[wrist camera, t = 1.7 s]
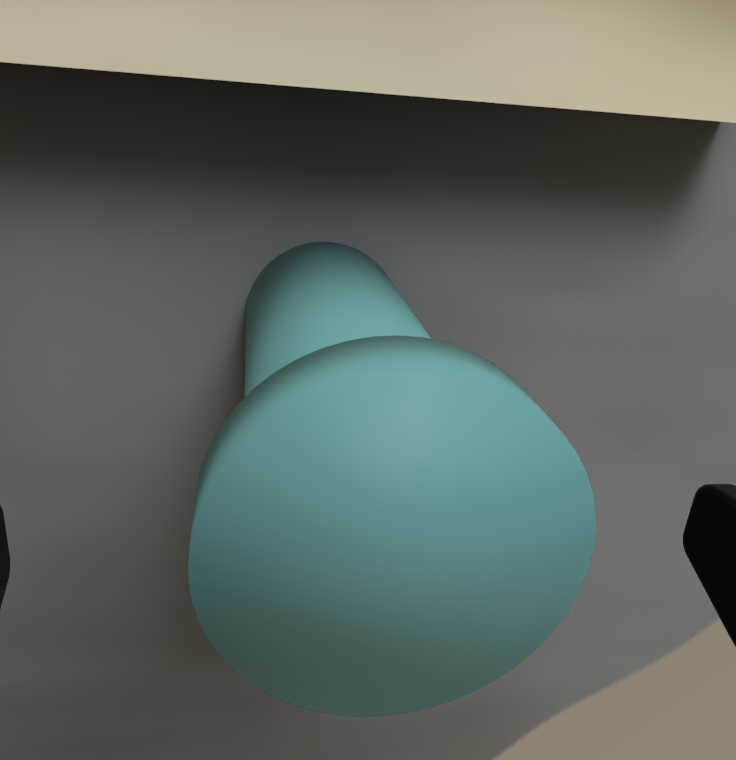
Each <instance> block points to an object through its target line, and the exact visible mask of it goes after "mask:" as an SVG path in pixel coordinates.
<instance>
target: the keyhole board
mask: <svg viewBox="0 0 736 760" xmlns="http://www.w3.org/2000/svg"><path fill="white" fill-rule="evenodd" d="M0 62H6V63H18V64H30V65H42V66H54V67H66V68H78V69H91V70H103V71H115V72H127V73H139V74H151V75H163V76H175V77H187V78H199V79H212V80H224V81H236V82H248V83H260V84H272V85H284V86H296V87H308V88H320V89H333V90H345V91H357V92H369V93H381V94H393V95H405V96H417V97H429V98H441V99H453V100H466V101H478V102H490V103H502V104H514V105H526V106H538V107H550V108H562V109H574V110H587V111H599V112H611V113H623V114H635V115H647V116H659V117H671V118H683V119H695V120H708V121H720V122H732V123H736V0H0Z"/></svg>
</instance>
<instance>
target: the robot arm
mask: <svg viewBox="0 0 736 760" xmlns="http://www.w3.org/2000/svg"><path fill="white" fill-rule="evenodd" d="M683 546H684V550H685V552H686V555H687V557H688V558H689V560H690V562H691V564H692V566H693V568H694V570H695V572H696V574H697V575H698V577H699V579H700V581H701V583H702V585H703V587H704V589H705V591H706V593H707V594H708V596H709V598H710V600H711V602H712V604H713V606H714V608H715V610H716V611H717V613H718V615H719V617H720V619H721V621H722V623H723V625H724V626H725V628H726V630H727V632H728V634H729V636H730V637H731V639H732V641H733V643H734V645H735V646H736V486H735V485H731V484H708V485H703V486H702V487H700V488H699V489H698V490H697V492H696V494H695V496H694V499H693V503H692V506H691V509H690V513H689V516H688V519H687V523H686V526H685V529H684V533H683ZM9 573H10V555H9V548H8V541H7V534H6V528H5V521H4V514H3V510H2V507H1V505H0V608H1V605H2V601H3V597H4V594H5V590H6V587H7V583H8V579H9Z"/></svg>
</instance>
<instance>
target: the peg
mask: <svg viewBox="0 0 736 760" xmlns="http://www.w3.org/2000/svg"><path fill="white" fill-rule="evenodd" d="M595 521H596V514H595V506H594V499H593V492H592V489H591V486H590V483H589V479H588V476H587V473H586V471H585V469H584V467H583V465H582V462H581V460H580V458H579V456H578V454H577V452H576V451H575V450H574V448H573V447H572V446H571V444H570V443H569V441H568V440H567V439H566V437H565V436H564V434H563V433H562V432H561V431H560V430H559V429H558V428H557V426H556V425H555V424H554V423H553V422H552V421H551V420H550V419H549V417H548V416H547V415H546V414H545V413H544V412H543V411H542V410H541V408H540V407H539V406H538V405H537V404H536V403H535V402H534V400H533V399H532V398H531V397H530V396H529V395H528V394H527V393H526V391H525V390H524V389H523V388H522V387H521V386H520V385H519V384H518V383H517V382H516V381H515V380H514V379H513V378H512V377H511V376H510V375H509V374H507V373H506V372H504V371H503V370H502V369H500V368H499V367H498V366H496V365H495V364H494V363H492V362H491V361H489V360H487V359H485V358H483V357H481V356H480V355H478V354H476V353H474V352H472V351H470V350H467V349H464V348H462V347H459V346H456V345H453V344H451V343H447V342H443V341H438V340H434V339H431V338H430V336H429V335H428V333H427V332H426V331H425V329H424V328H423V326H422V325H421V323H420V322H419V321H418V319H417V318H416V316H415V315H414V314H413V312H412V311H411V309H410V308H409V306H408V305H407V304H406V302H405V301H404V299H403V298H402V296H401V295H400V294H399V292H398V291H397V289H396V288H395V287H394V285H393V284H392V282H391V281H390V279H389V278H388V277H387V275H386V274H385V273H384V271H383V270H382V269H381V267H380V266H379V265H378V264H377V263H376V262H375V261H374V260H372V259H371V258H370V257H368V256H367V255H366V254H364V253H362V252H361V251H359V250H357V249H355V248H352V247H349V246H347V245H343V244H339V243H331V242H315V243H308V244H304V245H301V246H297V247H295V248H292V249H290V250H288V251H286V252H284V253H282V254H281V255H279V256H278V257H276V258H275V259H274V260H273V261H271V262H270V263H269V264H268V265H267V266H266V267H265V268H264V269H263V270H262V272H261V273H260V274H259V276H258V277H257V279H256V281H255V282H254V284H253V286H252V288H251V291H250V294H249V296H248V301H247V305H246V316H245V398H244V399H243V400H242V401H241V402H240V403H239V404H238V405H237V406H236V407H235V408H234V409H233V411H232V412H231V413H230V415H229V416H228V417H227V419H226V420H225V421H224V423H223V424H222V425H221V427H220V428H219V430H218V432H217V434H216V436H215V437H214V439H213V441H212V443H211V445H210V446H209V449H208V451H207V454H206V457H205V459H204V462H203V465H202V467H201V471H200V476H199V480H198V485H197V489H196V497H195V505H194V513H193V521H192V529H191V537H190V545H189V559H188V579H189V588H190V596H191V599H192V603H193V606H194V610H195V613H196V617H197V619H198V621H199V623H200V625H201V627H202V629H203V632H204V634H205V636H206V637H207V639H208V640H209V642H210V643H211V645H212V646H213V648H214V649H215V650H216V652H217V653H218V655H219V656H220V657H221V658H222V659H223V660H224V661H225V662H226V663H227V664H228V665H229V666H230V667H231V668H232V669H233V670H234V671H235V672H236V673H237V674H239V675H240V676H241V677H242V678H244V679H245V680H246V681H248V682H249V683H250V684H252V685H253V686H255V687H257V688H258V689H260V690H262V691H264V692H265V693H267V694H269V695H270V696H273V697H275V698H277V699H280V700H282V701H284V702H287V703H289V704H292V705H295V706H298V707H302V708H305V709H309V710H312V711H317V712H323V713H328V714H334V715H345V716H385V715H393V714H402V713H408V712H413V711H417V710H422V709H426V708H430V707H434V706H437V705H440V704H443V703H446V702H449V701H452V700H455V699H457V698H459V697H462V696H464V695H466V694H469V693H471V692H473V691H475V690H477V689H479V688H481V687H483V686H485V685H487V684H488V683H490V682H492V681H494V680H496V679H497V678H499V677H500V676H502V675H503V674H505V673H506V672H508V671H509V670H511V669H512V668H514V667H515V666H516V665H518V664H519V663H520V662H521V661H522V660H524V659H525V658H526V657H527V656H528V655H530V654H531V653H532V652H533V651H534V650H535V649H536V648H537V647H538V646H539V645H540V644H541V643H542V642H543V641H544V640H545V639H546V638H547V637H548V636H549V635H550V634H551V633H552V631H553V630H554V629H555V628H556V626H557V625H558V624H559V623H560V621H561V620H562V619H563V618H564V616H565V614H566V613H567V611H568V610H569V608H570V606H571V605H572V603H573V602H574V600H575V598H576V596H577V594H578V592H579V590H580V588H581V586H582V583H583V581H584V579H585V576H586V573H587V570H588V567H589V564H590V561H591V557H592V552H593V546H594V540H595Z"/></svg>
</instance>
